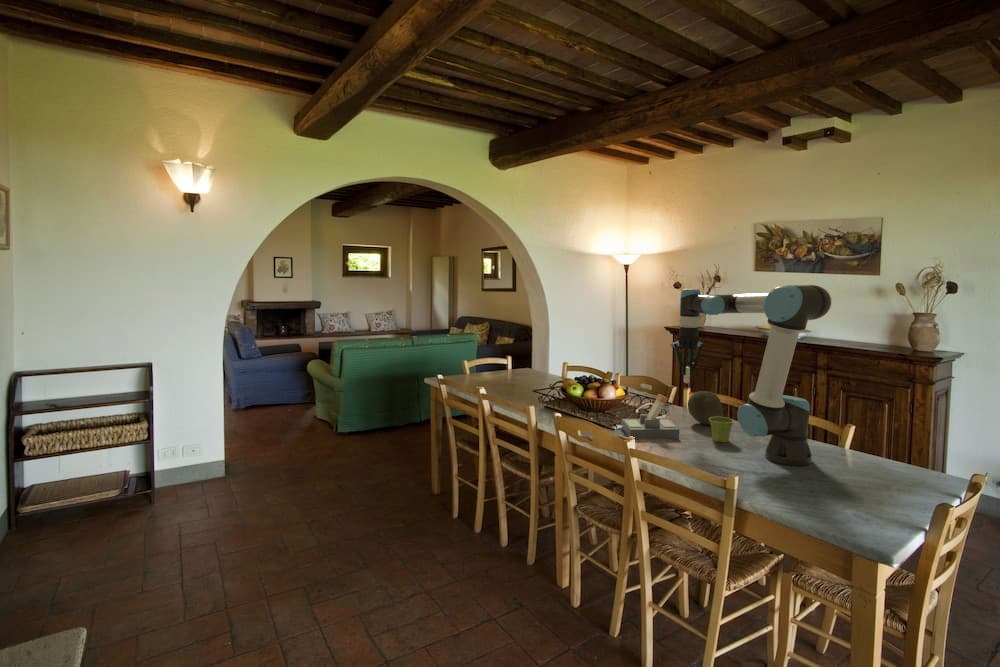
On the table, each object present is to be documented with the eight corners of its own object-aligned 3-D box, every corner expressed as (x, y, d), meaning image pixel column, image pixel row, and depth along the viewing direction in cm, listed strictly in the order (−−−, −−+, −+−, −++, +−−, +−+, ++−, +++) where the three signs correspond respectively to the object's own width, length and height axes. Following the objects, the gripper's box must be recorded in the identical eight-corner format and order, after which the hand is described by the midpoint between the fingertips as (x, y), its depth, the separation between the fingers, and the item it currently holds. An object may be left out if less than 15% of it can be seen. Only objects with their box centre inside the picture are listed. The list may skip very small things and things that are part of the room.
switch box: (679, 438, 229) (679, 422, 228) (630, 439, 229) (630, 422, 228) (667, 427, 245) (667, 412, 244) (621, 427, 244) (621, 412, 244)
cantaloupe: (712, 419, 257) (714, 387, 255) (727, 428, 243) (728, 394, 241) (682, 420, 256) (683, 388, 254) (695, 429, 242) (696, 395, 240)
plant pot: (717, 444, 221) (718, 423, 220) (703, 437, 230) (704, 417, 229) (737, 443, 223) (739, 421, 222) (723, 436, 232) (724, 415, 231)
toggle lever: (652, 426, 234) (667, 399, 232) (647, 423, 233) (662, 396, 232) (649, 422, 239) (664, 396, 237) (644, 419, 239) (658, 393, 237)
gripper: (701, 325, 235) (698, 380, 238) (670, 325, 235) (668, 380, 238) (708, 327, 228) (705, 384, 231) (676, 327, 228) (673, 384, 231)
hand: (686, 382), depth 234 cm, fingers closed
